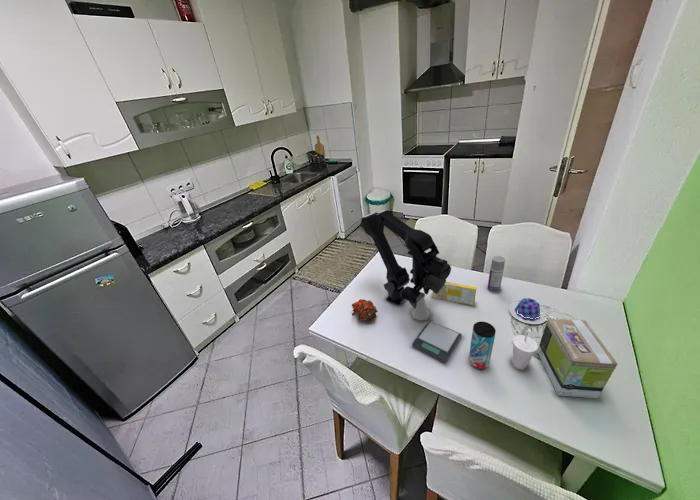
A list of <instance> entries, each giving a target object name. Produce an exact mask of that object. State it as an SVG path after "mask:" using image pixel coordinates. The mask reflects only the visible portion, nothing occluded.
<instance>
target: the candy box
mask: <svg viewBox="0 0 700 500" xmlns="http://www.w3.org/2000/svg"><path fill="white" fill-rule="evenodd" d="M476 295H477V286H474V285H473V286H472V285H466V284H461V283H456V282H449V281H446V283H445V284H444V286H443V288H442V289H441V290H440V292H439V293H438V294H436V293H434V292H433V291H432V295H431V296H432V298H434V299H439V300H443V301H449V302H452V303H458V304H462V305H466V306H467V305H468V306H472V307H475V303H476Z"/></svg>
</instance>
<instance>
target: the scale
mask: <svg viewBox="0 0 700 500" xmlns="http://www.w3.org/2000/svg"><path fill="white" fill-rule="evenodd" d="M462 334H463V333H460V332H458V331H455V330H454V329H451V328H449V327H446V326H444V325H442V324H439V323H437V322H436V321H433V320H429V321H428V322H427V323H426V325H425V326H424V327H423V328H422V330H421V332H420V333H419V334H418V335H417V337H416V338H415V339H414V340H413V342H412V345H411V346H412V348H414V349H415V350H417V351H419V352H421V353H423V354H424V355H427V356H429V357H431V358H432V359H435V360H437V361H439V362H440V363H443V364H445V365H446V364H447V363H448V361H449V359H450V357H451V356H452V354H453V353H454V351H455V349H456V348H457V346H458V344H460V343H459V342H460V341H461V339H462Z"/></svg>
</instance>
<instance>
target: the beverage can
mask: <svg viewBox="0 0 700 500" xmlns="http://www.w3.org/2000/svg"><path fill="white" fill-rule="evenodd" d="M496 332H497V331H496V328H495V326H494V325H493V324H492V323H489V322H486V321H477V322H474V324H473V326H472V333H471V339H470V346H469V355H468V361H469V364H470V365H471V366H472V367H473V368H475V369H477V370H485V369H487V368H488V367H489V366H490V363H491V357H492V352H493V348H494V342H495V338H496Z"/></svg>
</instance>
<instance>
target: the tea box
mask: <svg viewBox="0 0 700 500" xmlns="http://www.w3.org/2000/svg"><path fill="white" fill-rule="evenodd" d="M542 332H543V333H542V335H541V339H540V341H539V344H538V350H537V352H536V353H537V354H538V356H539V358H540V361H541V362H542V364H543V367H544V369H545V371H546V373H547V375H548V378H549V379H550V381H551V383H552V386H553V388H554V389H555V392H556V394H557V396H561V397H575V398H585V399H586V398H587V399H598V398H599V397H600V396H601V394H602V392H603V390H604V389H605V388H606V385H607V383H608V382H609V380H610V378H611V377H612V375H613V374H614V371H615V370H616V368H617V366H618V362H617V361H616V359H615V358H614V356H613V355H612V353H610V351H609V349H608V348H607V347H606V346H605V344H604V343H603V342H602V341H601V339H600V338H599V337H598V335H597V334H596V333H595V331H594V330H593V328H592V327H591V326H590V324H589V323H588V321H586V320H585V319H566V318H547V320H546V324H545V327H544V330H543V331H542Z"/></svg>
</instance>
